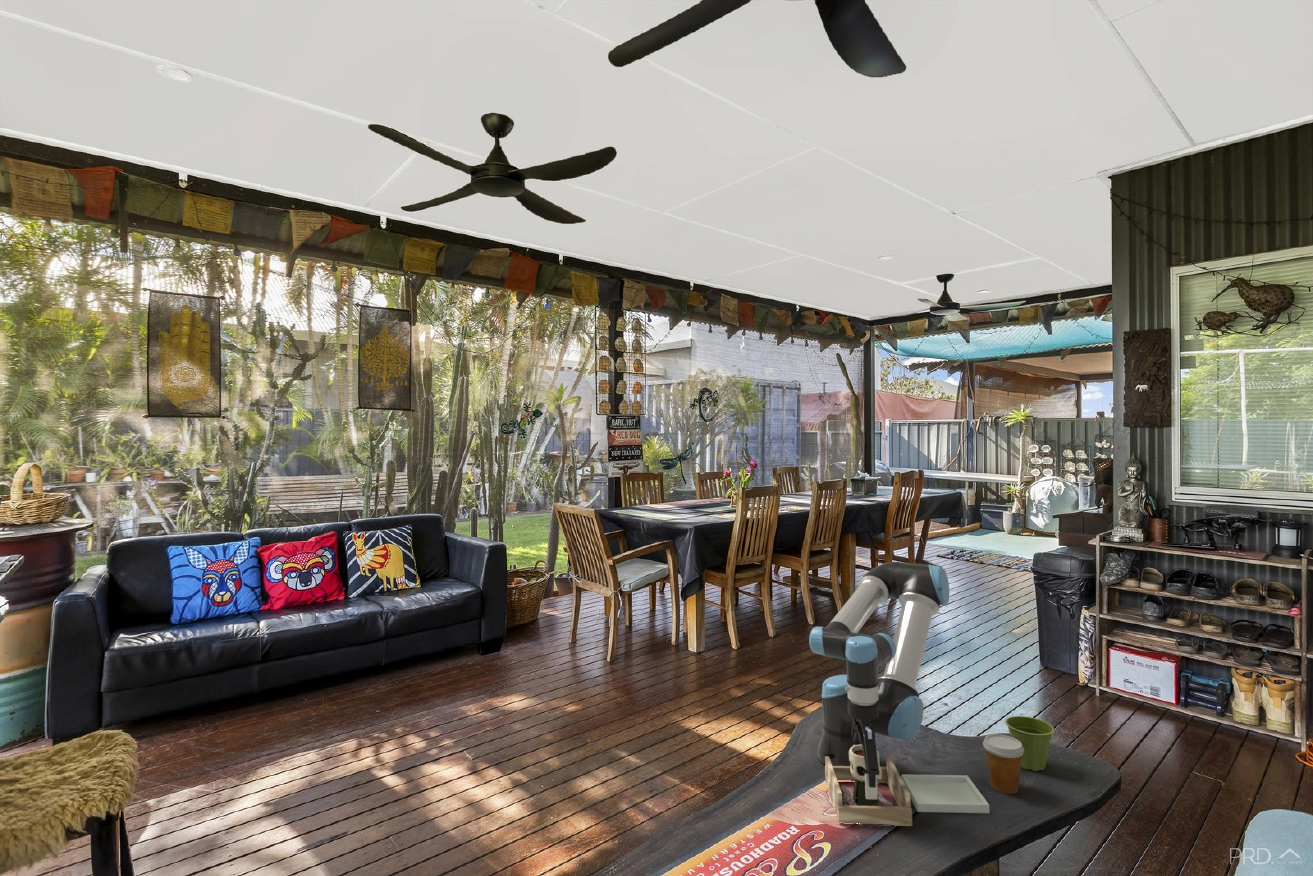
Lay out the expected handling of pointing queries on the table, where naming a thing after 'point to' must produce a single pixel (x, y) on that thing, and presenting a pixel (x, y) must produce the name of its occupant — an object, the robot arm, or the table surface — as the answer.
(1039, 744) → the plant pot
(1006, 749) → the disposable coffee cup
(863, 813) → the wooden frame
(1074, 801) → the table surface
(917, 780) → the tray
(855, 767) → the character mug
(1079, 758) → the table surface
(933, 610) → the robot arm
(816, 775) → the table surface
